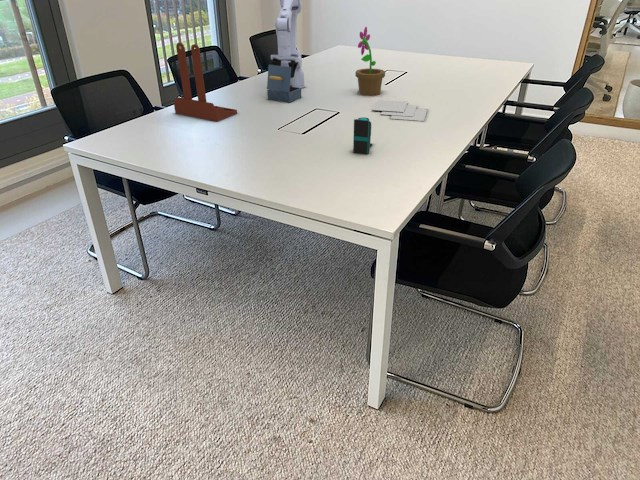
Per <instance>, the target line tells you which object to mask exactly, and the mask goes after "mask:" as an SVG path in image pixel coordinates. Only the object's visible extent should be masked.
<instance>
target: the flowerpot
mask: <svg viewBox="0 0 640 480" xmlns="http://www.w3.org/2000/svg"><path fill="white" fill-rule="evenodd" d="M359 38H360V40H361V41H359V42H358V44H357V48H358V49H360V54H361V56H362V57H361V59H360V60H361V61H363V62H365V63H367V62H369V67H367V68H360V69H357V70H356V71H355V77H356V78H357V86H358V94H360V95H361V96H367V97H375V96H378V95H380V94H381V89H382V83H383V79H384V78H385V77H386V71H385V70H383V69H381V68H372V67H374V66H376V64H377V62H376V60H373V59H372V58H373V56H372V49H371V46H370V44H369V42H368V41H369V40H371V39H370V38H371V34H368V27H367V26H365V27H364V28H363V32H362V31H359ZM365 50H366V51H368V53H367V54H365ZM364 54H365V55H364ZM363 55H364V56H363Z"/></svg>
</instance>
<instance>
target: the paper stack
mask: <svg viewBox="0 0 640 480" xmlns="http://www.w3.org/2000/svg"><path fill="white" fill-rule="evenodd" d="M408 103H409V101H406V100H390V99H389V100H388V99H377V100H376V102H375V104H374V105H373V107H372V109H371V111H381V113H380V115H383V116H390V118H389V119H390V120H391V119H392V120H403V121H419V122H425V119H426V115H427V112H428V108H427V109H426V108H417V107H418V105H417V104H415V105H414V104H408Z"/></svg>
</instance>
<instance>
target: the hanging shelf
mask: <svg viewBox="0 0 640 480" xmlns="http://www.w3.org/2000/svg"><path fill="white" fill-rule="evenodd" d="M175 48H176V54H177V61H178V68H179V74H180V82H181V86H182V93H183V97H180V96H176V97H175V98H174V99H175V100H174V101H173V107H174V113H175V115H181V116H186V117H190V118H191V117H192V118H196V119H200V120H207V121H211V122H216V123H218V122H221V121H223V120H226V119H227V118H230V117H232V116H234V115H237V114H238V109H235V108H229V107H224V106H220V105H219V106H218V105H215V104H214V103H213V102H208V100H207V95H206V86H205V79H204V71H203V64H202V57H201V49H200V46H199V45H198V44H196V43H194V44H191V46H190V51H191V58H192V59H191V60H192V66H193V73H194V81H195V87H196V88H195V89H196V94H197V100H196V99H193V94H192V88H191V82H190V74H189V67H188V59H187V54H186V48H185V45H184V44H183V42H177V43H176V45H175Z"/></svg>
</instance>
